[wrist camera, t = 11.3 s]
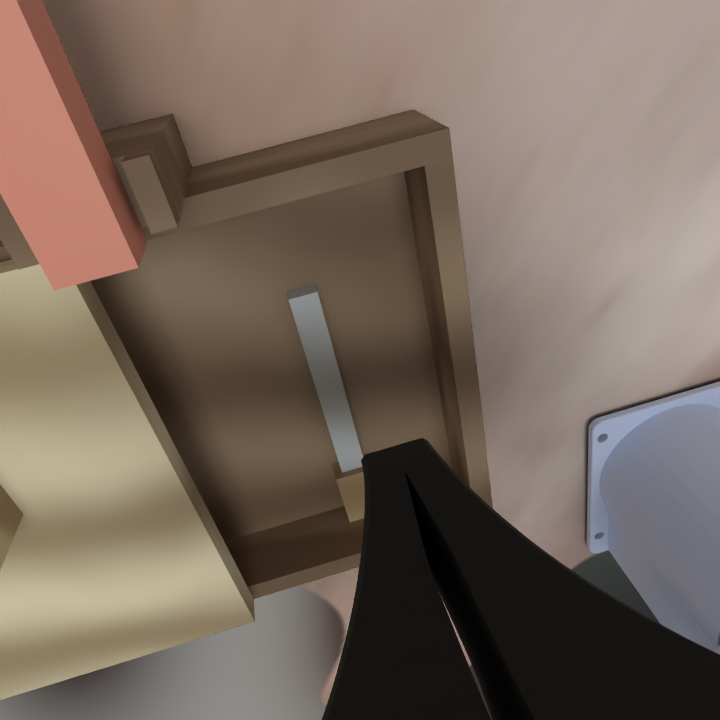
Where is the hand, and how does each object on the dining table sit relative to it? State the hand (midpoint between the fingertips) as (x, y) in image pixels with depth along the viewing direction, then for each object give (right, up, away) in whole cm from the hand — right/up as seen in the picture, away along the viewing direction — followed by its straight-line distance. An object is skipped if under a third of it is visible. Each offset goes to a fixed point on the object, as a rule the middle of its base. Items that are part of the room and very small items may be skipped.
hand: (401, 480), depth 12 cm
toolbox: (-6, +1, +10) cm, 12 cm away
